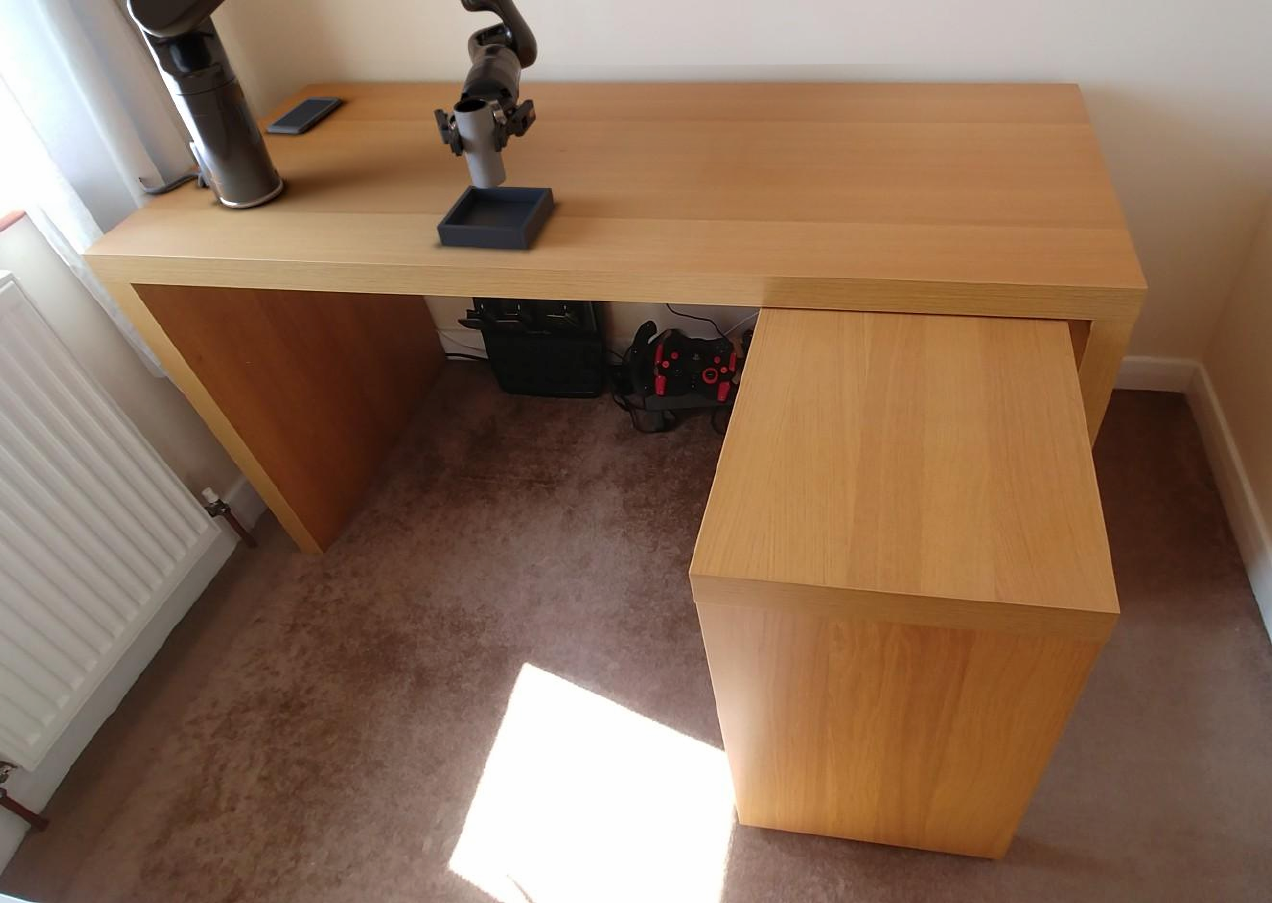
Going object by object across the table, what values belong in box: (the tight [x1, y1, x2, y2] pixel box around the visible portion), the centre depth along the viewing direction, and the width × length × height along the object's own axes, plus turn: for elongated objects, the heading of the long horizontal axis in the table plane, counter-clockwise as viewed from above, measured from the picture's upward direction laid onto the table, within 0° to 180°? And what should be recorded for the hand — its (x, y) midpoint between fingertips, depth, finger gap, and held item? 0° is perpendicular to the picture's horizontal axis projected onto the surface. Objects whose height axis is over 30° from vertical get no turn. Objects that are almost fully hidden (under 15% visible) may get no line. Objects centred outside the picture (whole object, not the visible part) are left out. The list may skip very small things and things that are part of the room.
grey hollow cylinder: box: [453, 97, 507, 189], centre depth 107 cm, size 4×4×10 cm
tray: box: [436, 185, 556, 251], centre depth 114 cm, size 13×12×3 cm
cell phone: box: [266, 96, 342, 134], centre depth 150 cm, size 7×14×1 cm, turn 161°
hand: (477, 146), depth 105 cm, fingers closed on grey hollow cylinder, 4 cm apart
